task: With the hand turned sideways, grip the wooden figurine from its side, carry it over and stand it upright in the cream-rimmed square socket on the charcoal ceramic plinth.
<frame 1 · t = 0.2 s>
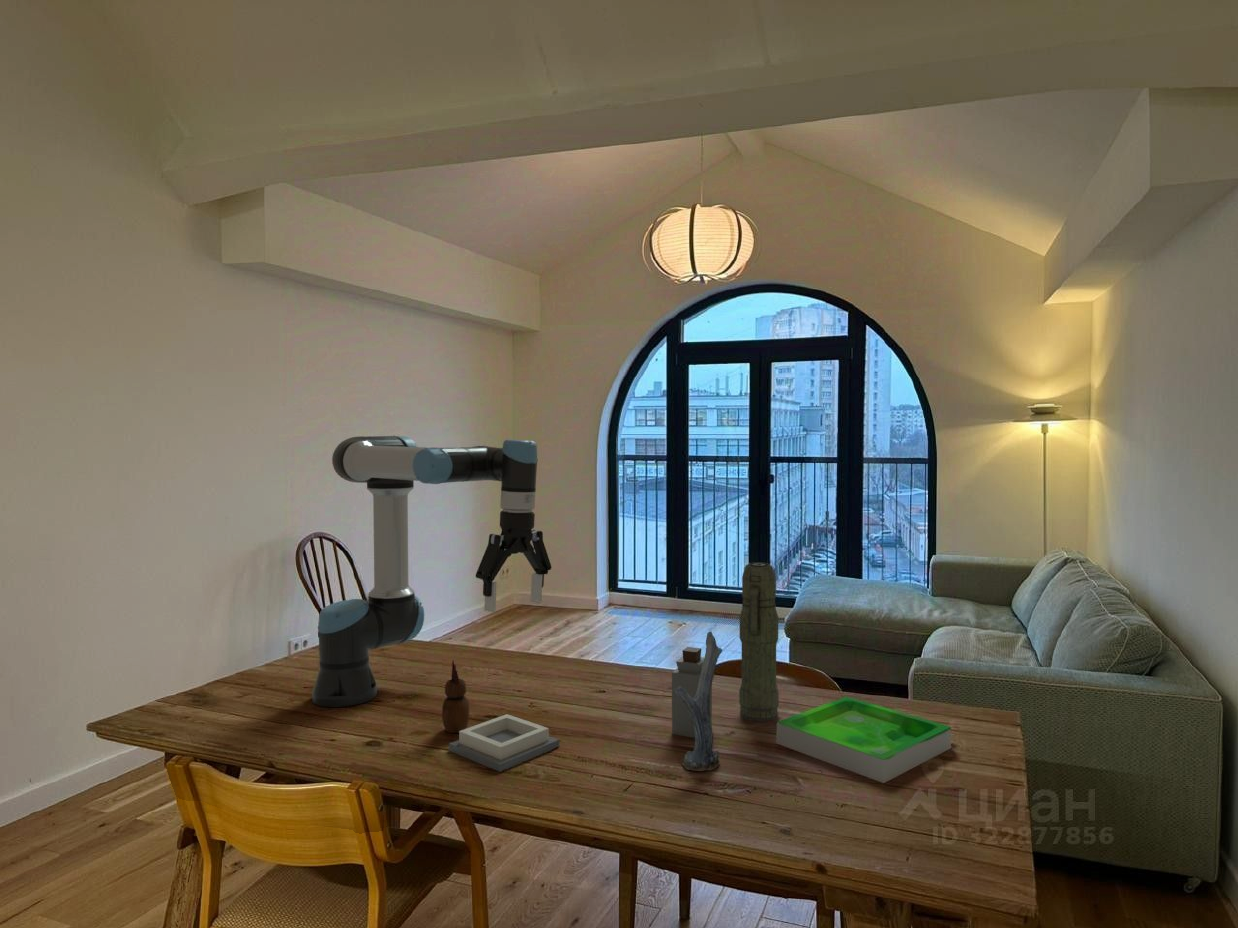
hand: (513, 606, 175), 27 cm above the table, tool pointing down, fingers open, 13 cm apart
antler: (702, 762, 158), on the table
wooden figurine: (456, 731, 175), on the table
tray: (862, 749, 165), on the table
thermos: (758, 715, 184), on the table
socket plinth: (504, 748, 165), on the table
perfume bottle: (692, 731, 174), on the table
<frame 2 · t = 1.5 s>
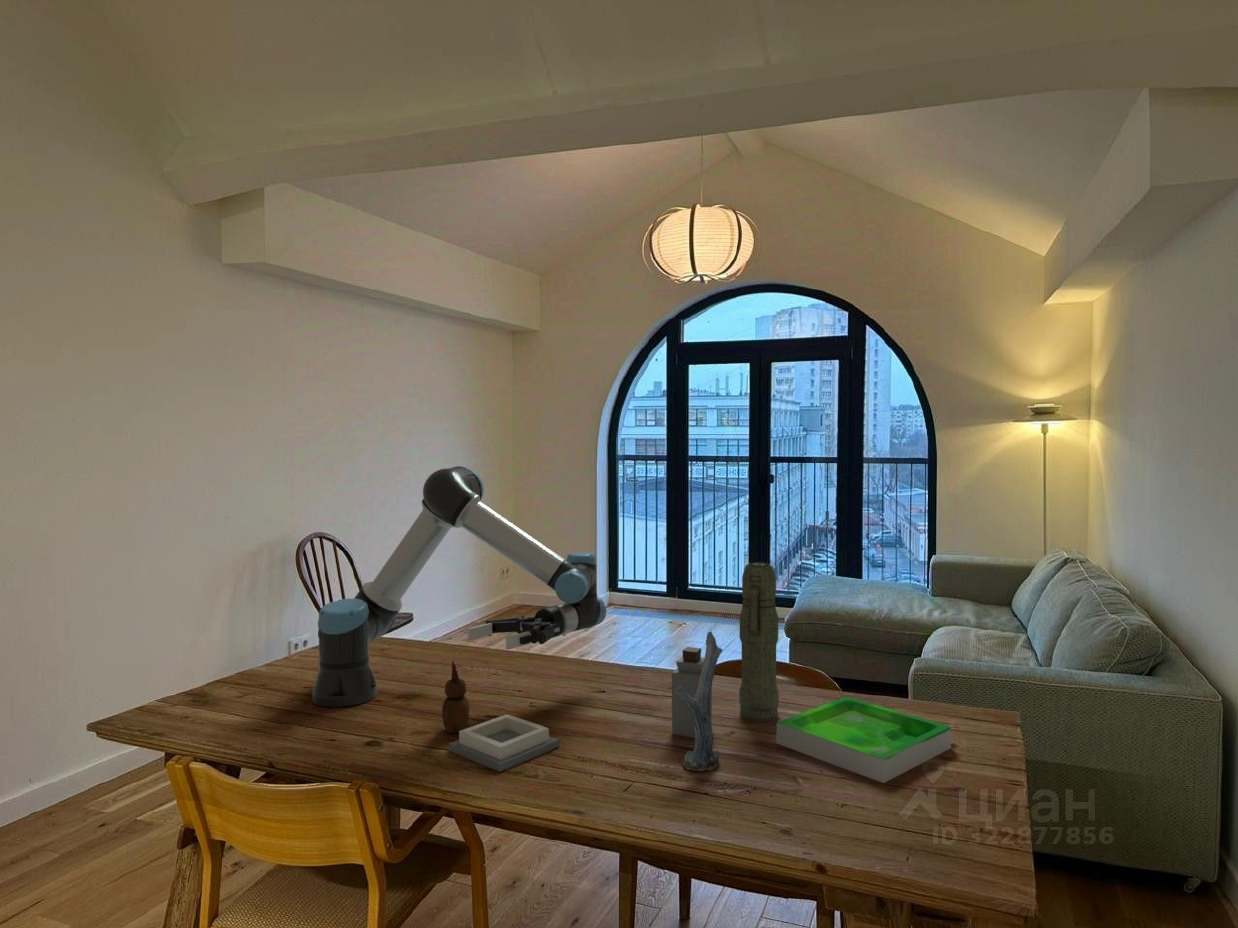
hand: (487, 638, 181), 19 cm above the table, tool horizontal, fingers open, 13 cm apart
nothing on the table moved.
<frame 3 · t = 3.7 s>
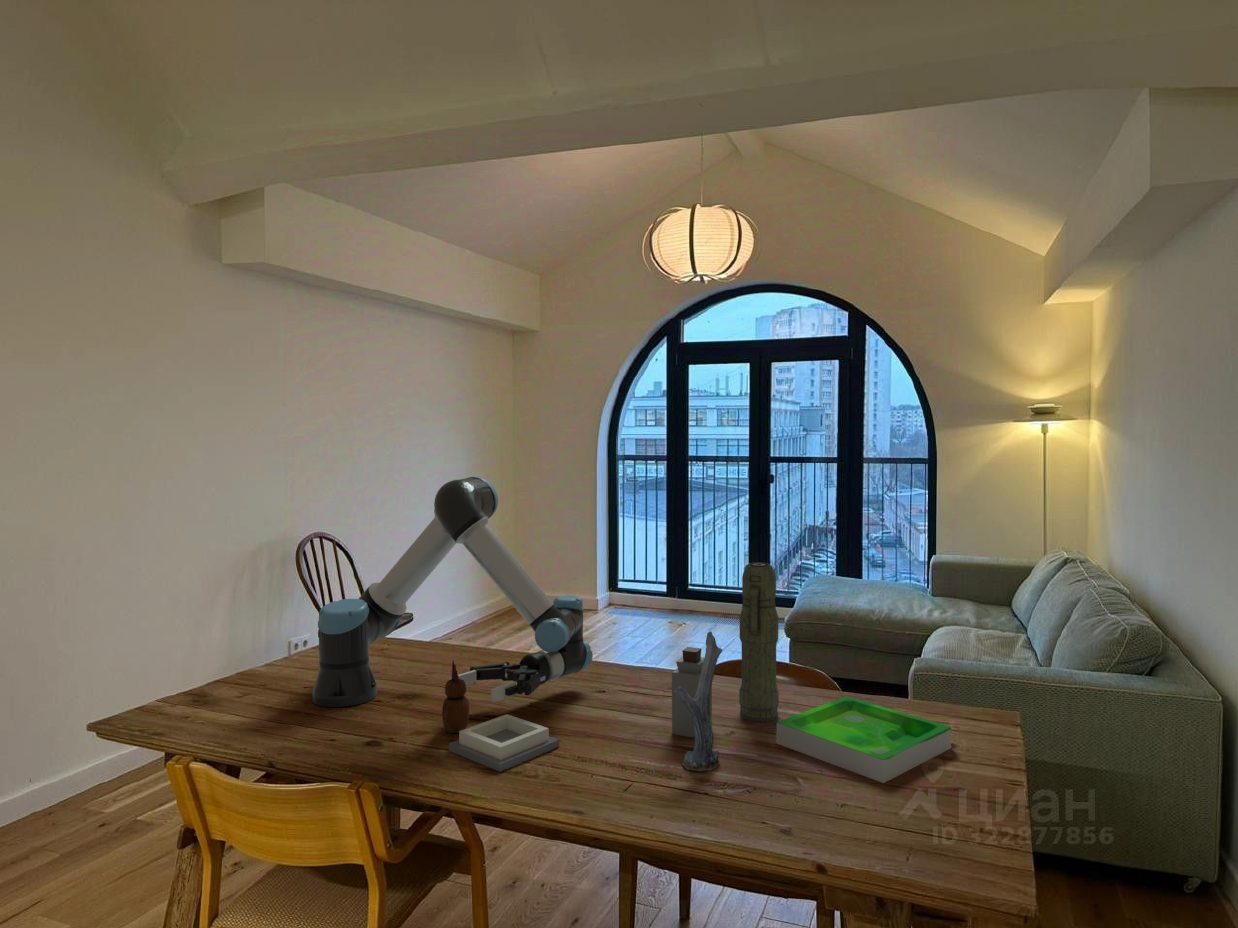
hand: (472, 688, 178), 8 cm above the table, tool horizontal, fingers open, 13 cm apart
nothing on the table moved.
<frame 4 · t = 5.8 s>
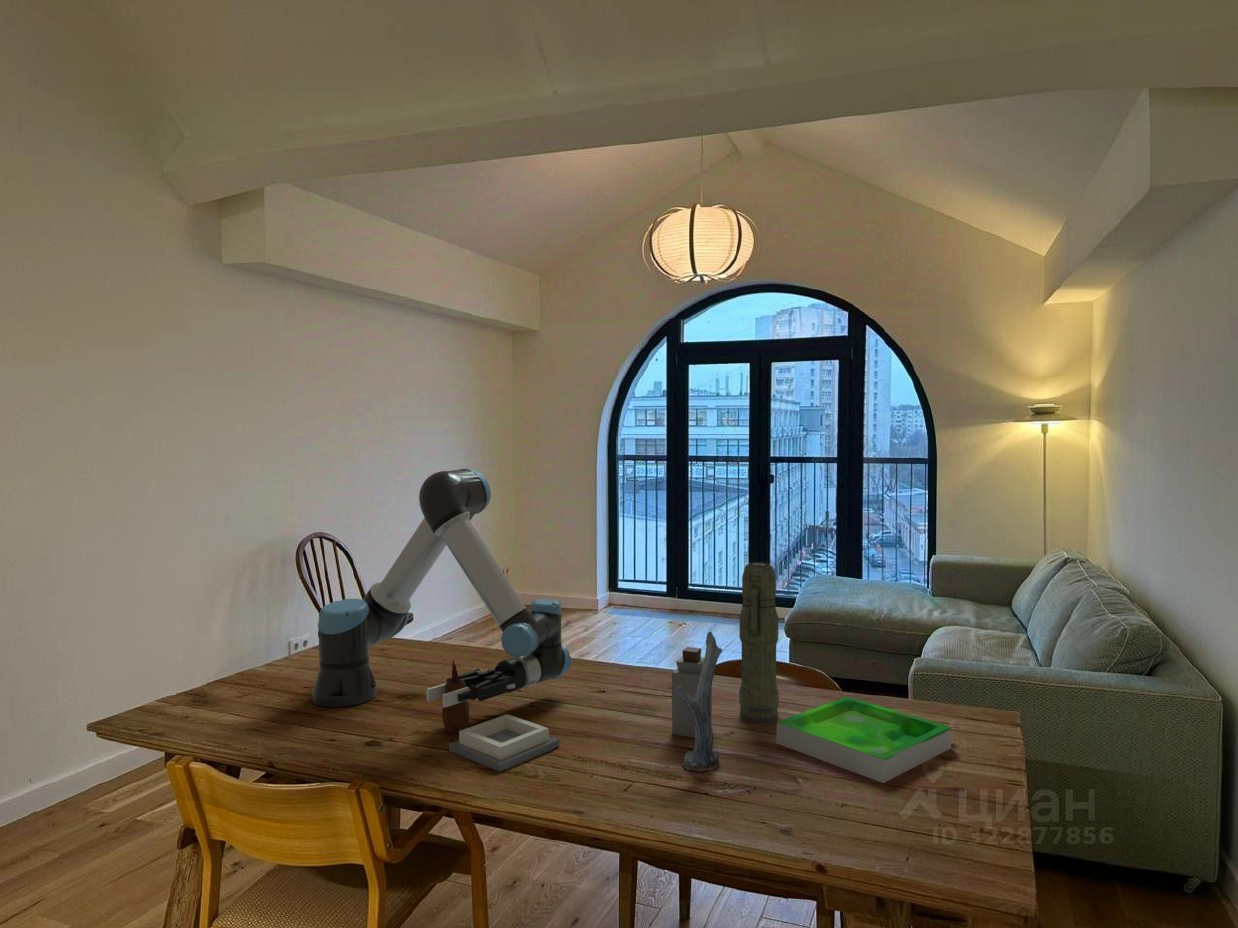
hand: (435, 698, 171), 9 cm above the table, tool horizontal, fingers closed on wooden figurine, 5 cm apart
wooden figurine: (456, 731, 175), on the table, touching gripper
everything else where it was.
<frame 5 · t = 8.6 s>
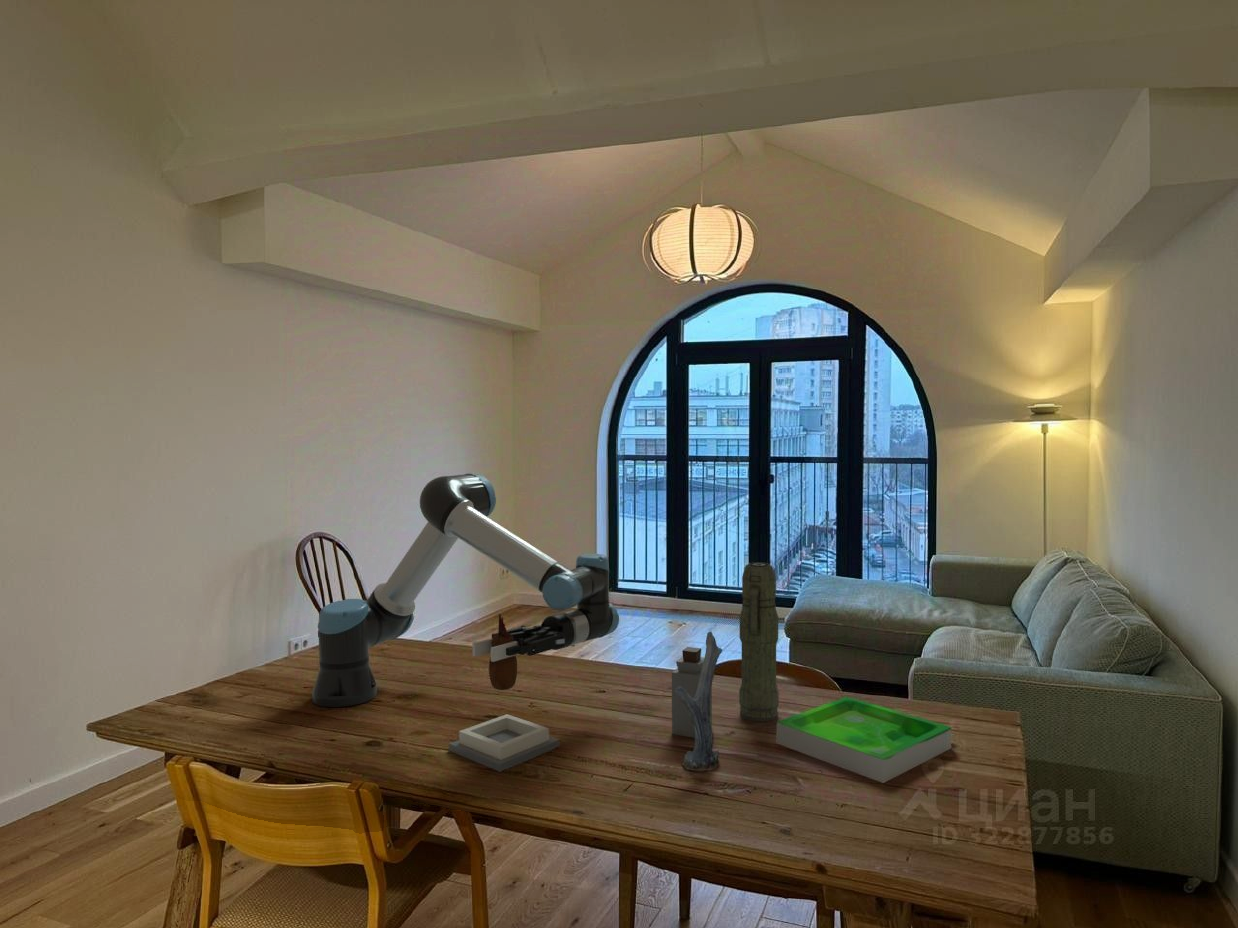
hand: (482, 652, 160), 21 cm above the table, tool horizontal, fingers closed on wooden figurine, 5 cm apart
wooden figurine: (503, 688, 165), point 13 cm above the table, touching gripper
everything else where it was.
when the fingers open (11 cm above the table, at t = 11.2 s): wooden figurine drops 1 cm, resting on socket plinth.
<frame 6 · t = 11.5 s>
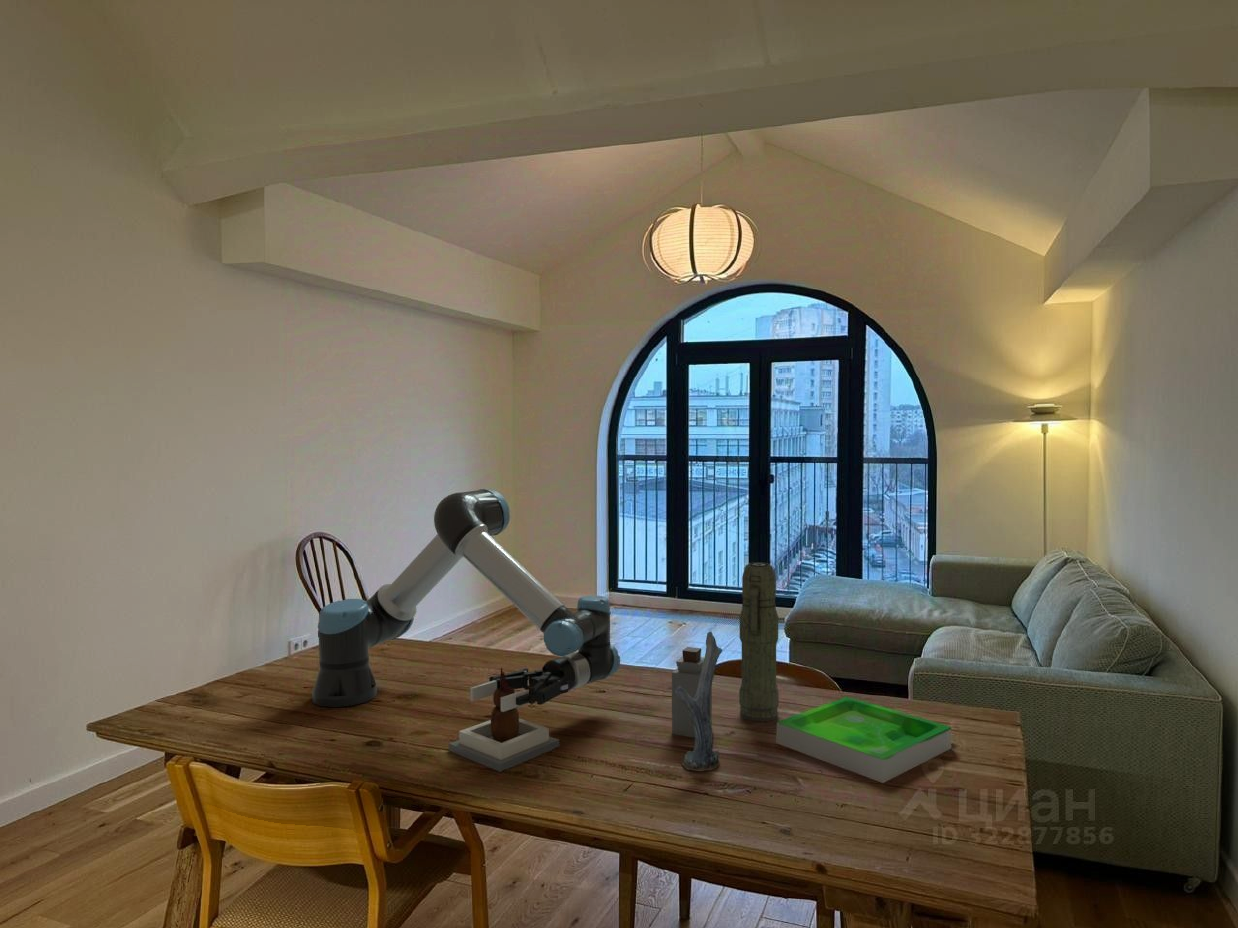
hand: (486, 699, 161), 11 cm above the table, tool horizontal, fingers open, 9 cm apart
wooden figurine: (505, 742, 165), point 1 cm above the table, touching socket plinth
everything else where it was.
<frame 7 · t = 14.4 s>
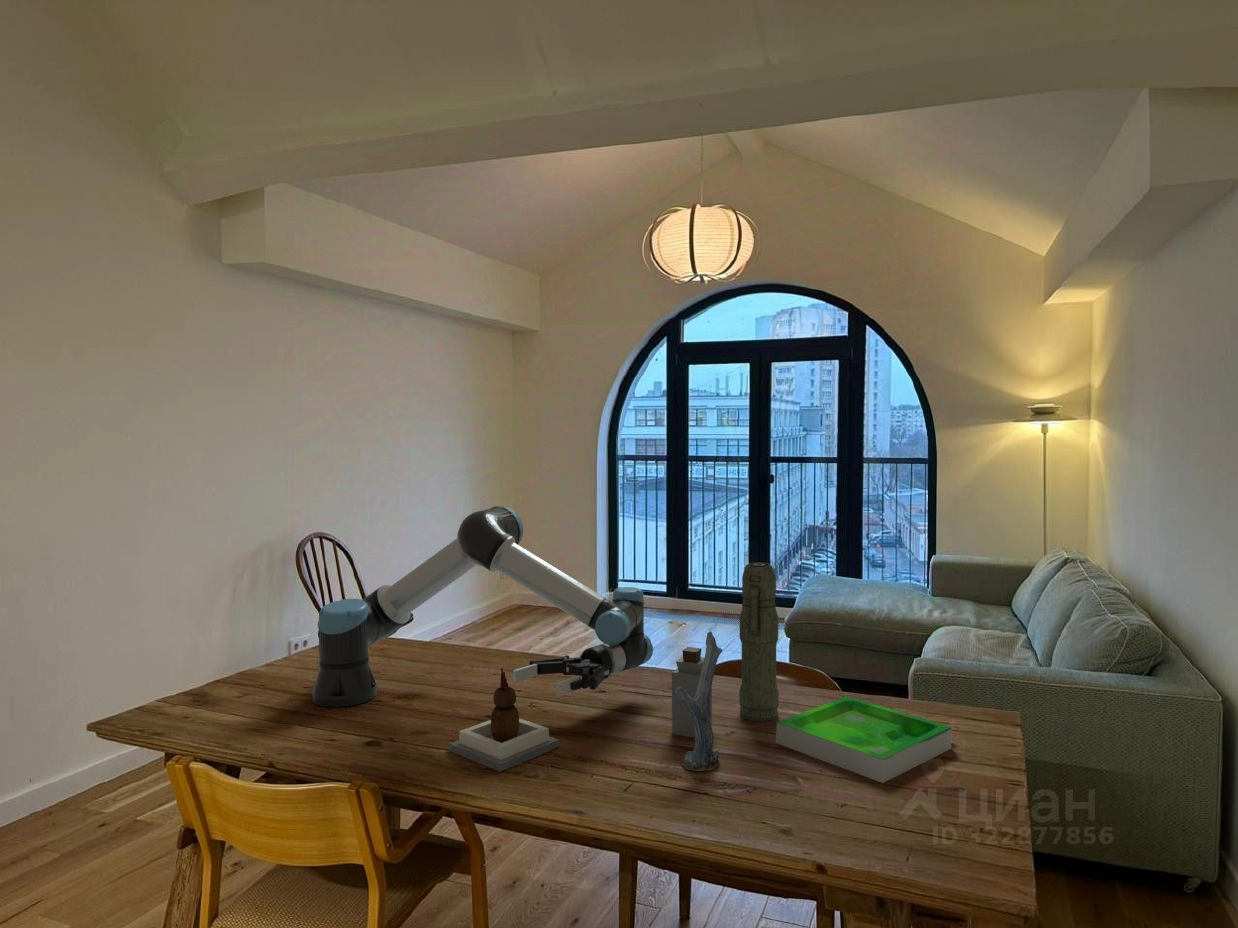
hand: (535, 682, 171), 12 cm above the table, tool horizontal, fingers open, 13 cm apart
nothing on the table moved.
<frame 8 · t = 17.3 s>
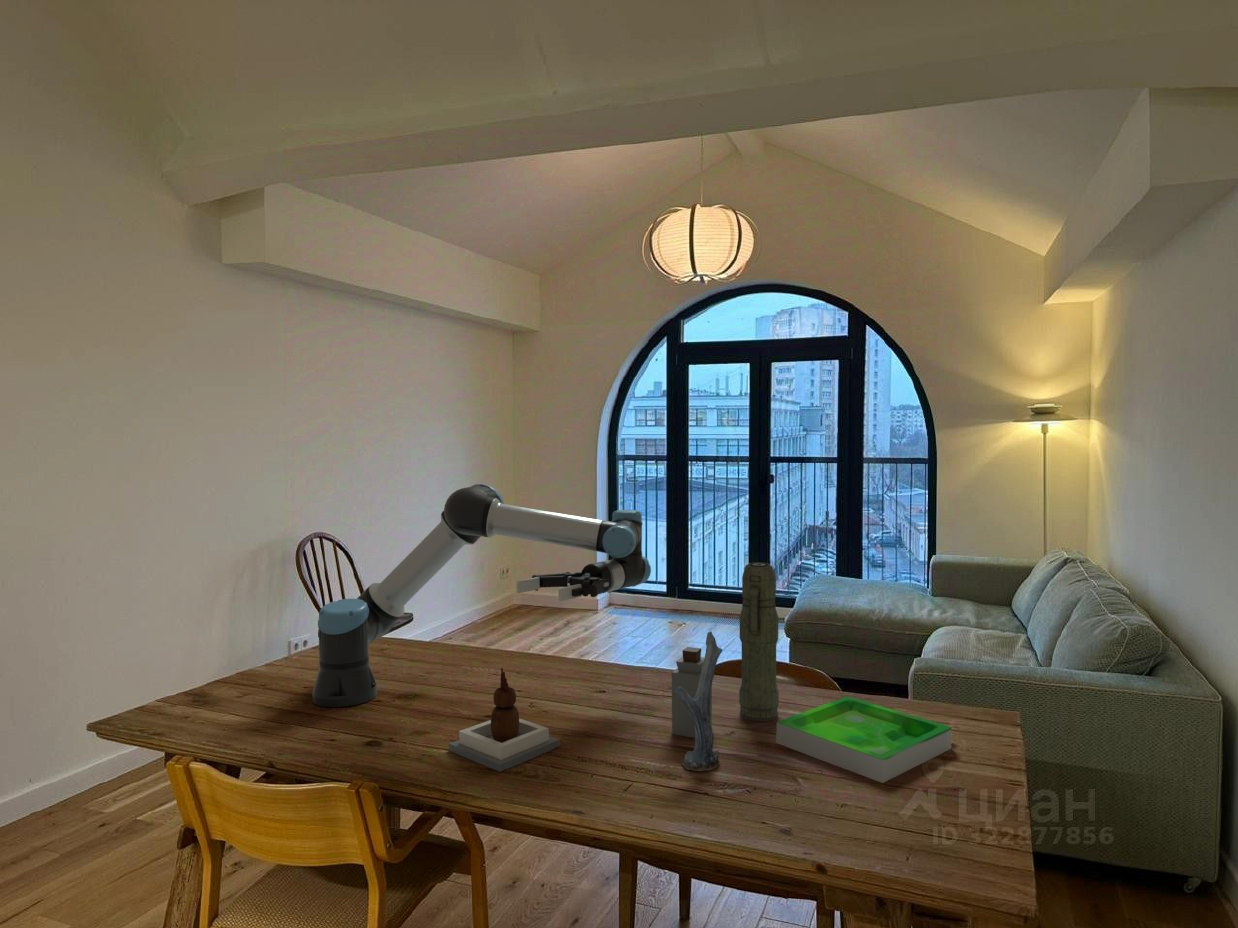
hand: (538, 590, 178), 30 cm above the table, tool horizontal, fingers open, 13 cm apart
nothing on the table moved.
at the end: wooden figurine 0.3 cm off-centre on the socket plinth, point 1.3 cm above the socket plinth's base; wooden figurine tilted 0°; the gripper is holding nothing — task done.
